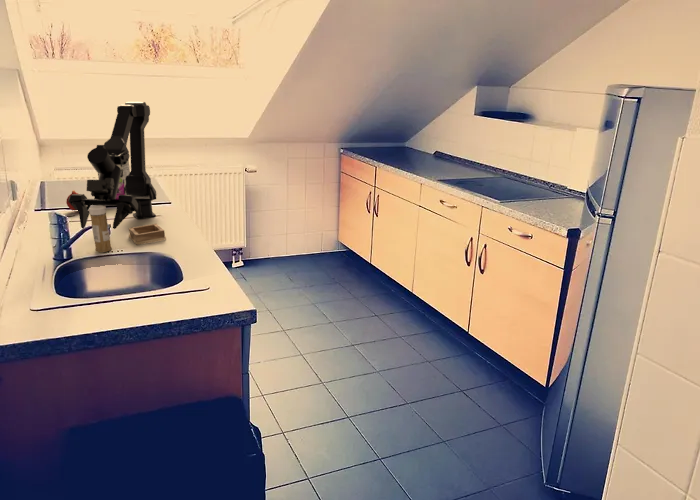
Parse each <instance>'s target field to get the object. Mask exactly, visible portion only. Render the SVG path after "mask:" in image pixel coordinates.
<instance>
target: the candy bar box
mask: <svg viewBox="0 0 700 500" xmlns="http://www.w3.org/2000/svg"><path fill="white" fill-rule="evenodd" d="M117 166H119V168H120V169H121V171H122V174H123V177H120V181H119V185H118V189H119V193H117V195H116V199H118V197H119V195H126V191H125V185H126V176H128V175H129V173H130V172H131V168H130V162H129V160H128V161H127V163H126V164H125V165H117ZM97 176H98V177H97V178H98V179H99V177H100V173H98V172H97Z"/></svg>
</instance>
